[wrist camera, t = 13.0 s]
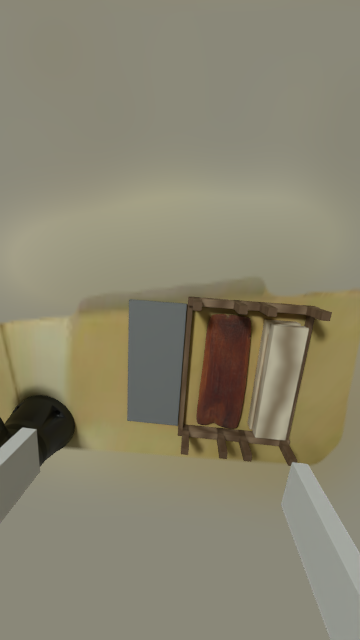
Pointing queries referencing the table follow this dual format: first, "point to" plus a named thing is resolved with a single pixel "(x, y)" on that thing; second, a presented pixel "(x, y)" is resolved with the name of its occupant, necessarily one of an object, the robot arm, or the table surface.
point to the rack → (232, 434)
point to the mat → (155, 360)
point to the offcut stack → (276, 378)
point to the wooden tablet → (224, 370)
